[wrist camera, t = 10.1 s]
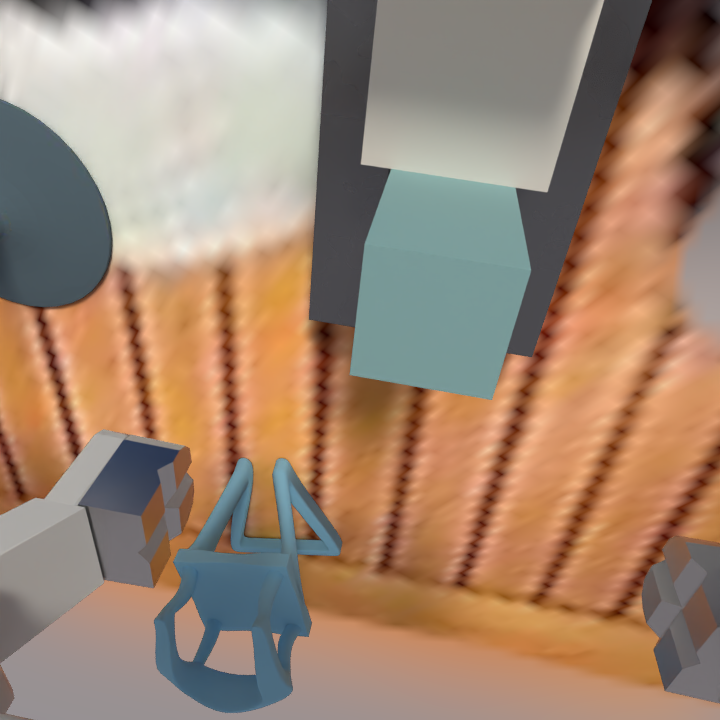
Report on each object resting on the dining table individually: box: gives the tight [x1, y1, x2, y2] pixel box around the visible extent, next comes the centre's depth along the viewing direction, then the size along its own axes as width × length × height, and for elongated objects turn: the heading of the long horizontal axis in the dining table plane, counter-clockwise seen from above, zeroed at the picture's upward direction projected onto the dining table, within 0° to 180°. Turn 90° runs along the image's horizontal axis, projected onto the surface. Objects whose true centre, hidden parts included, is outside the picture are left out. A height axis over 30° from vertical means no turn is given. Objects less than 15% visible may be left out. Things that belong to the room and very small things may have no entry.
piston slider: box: [361, 0, 604, 192], centre depth 16 cm, size 8×7×8 cm
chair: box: [154, 458, 342, 713], centre depth 34 cm, size 8×8×12 cm
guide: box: [309, 0, 652, 357], centre depth 21 cm, size 21×10×3 cm, turn 174°
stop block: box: [350, 169, 531, 400], centre depth 20 cm, size 4×4×12 cm
